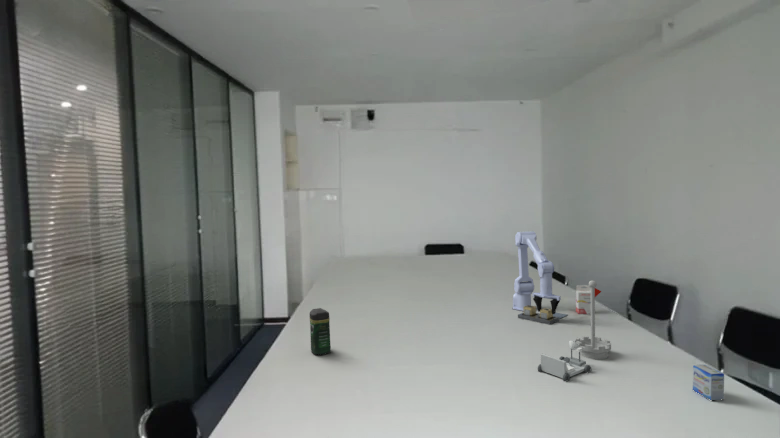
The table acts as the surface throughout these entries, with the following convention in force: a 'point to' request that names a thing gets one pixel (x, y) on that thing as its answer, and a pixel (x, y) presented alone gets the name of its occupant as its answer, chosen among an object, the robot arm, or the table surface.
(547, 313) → the gold knob block
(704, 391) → the medicine box
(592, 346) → the flag stand
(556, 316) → the slate mat
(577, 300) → the ink cartridge box
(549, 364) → the toy car
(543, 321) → the grey flat rectangular frame
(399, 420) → the table surface
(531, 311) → the gold drawer
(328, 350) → the coffee jar
